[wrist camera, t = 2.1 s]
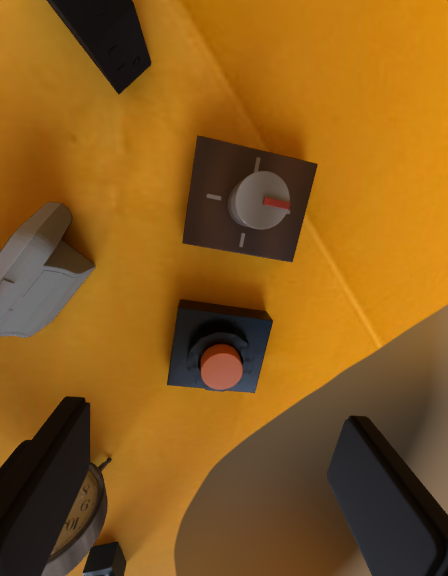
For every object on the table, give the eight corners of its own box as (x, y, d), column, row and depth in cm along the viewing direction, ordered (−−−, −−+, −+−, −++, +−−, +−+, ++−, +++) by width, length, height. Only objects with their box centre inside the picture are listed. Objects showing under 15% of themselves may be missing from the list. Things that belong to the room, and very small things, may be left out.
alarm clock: (118, 448, 35) (55, 630, 20) (121, 476, 37) (66, 667, 21) (35, 454, 34) (-100, 652, 19) (42, 483, 36) (-78, 689, 20)
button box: (169, 370, 33) (164, 396, 28) (180, 299, 30) (176, 314, 25) (250, 378, 34) (258, 404, 29) (266, 311, 32) (278, 328, 27)
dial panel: (183, 240, 28) (182, 243, 25) (197, 143, 26) (197, 134, 23) (283, 258, 30) (293, 262, 27) (305, 169, 27) (318, 163, 24)
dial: (223, 222, 25) (231, 224, 20) (231, 176, 24) (242, 164, 18) (265, 230, 26) (283, 234, 20) (275, 185, 25) (297, 176, 19)
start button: (197, 376, 28) (197, 388, 26) (204, 341, 27) (204, 350, 25) (235, 379, 29) (238, 391, 27) (243, 345, 28) (246, 355, 26)
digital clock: (66, 193, 26) (-19, 178, 16) (127, 262, 28) (88, 287, 18) (-44, 286, 27) (-189, 328, 17) (23, 343, 30) (-68, 410, 20)
